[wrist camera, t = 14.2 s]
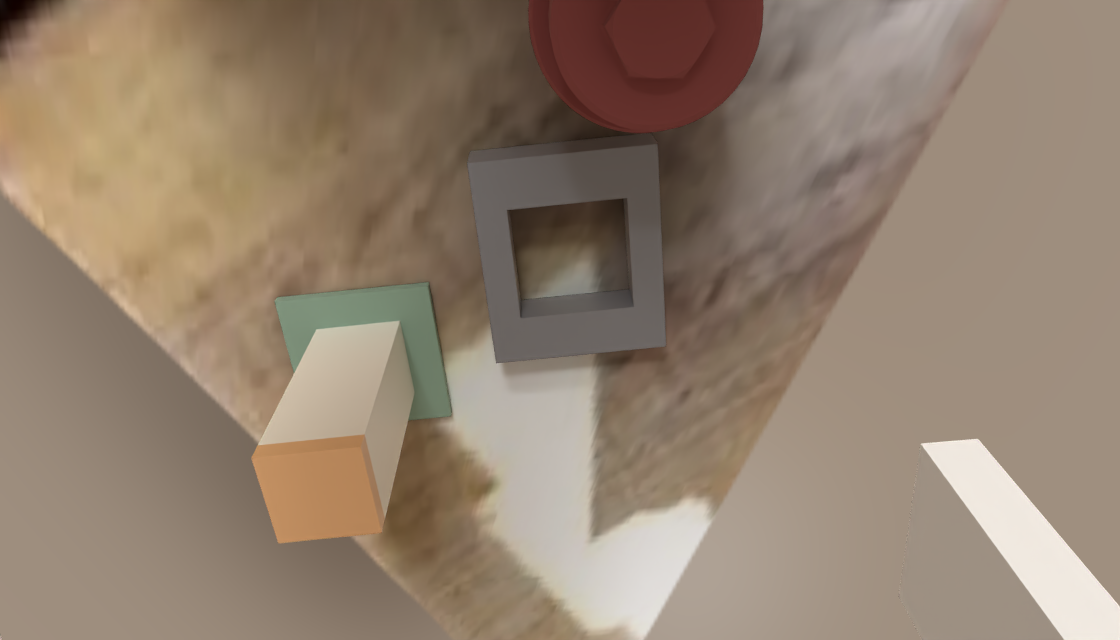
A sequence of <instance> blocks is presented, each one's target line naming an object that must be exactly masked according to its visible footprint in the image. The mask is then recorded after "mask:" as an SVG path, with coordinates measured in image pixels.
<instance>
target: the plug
mask: <svg viewBox="0 0 1120 640" xmlns="http://www.w3.org/2000/svg"><path fill="white" fill-rule="evenodd" d="M414 393H415V392H414V387H413V382H412V377H411V372H410V367H409V363H408V358H407V353H406V348H405V343H404V338H403V333H402V328H401V323H400V321H392V322H383V323H373V324H363V325H354V326H344V327H334V328H325V329H316V331H315V333H314V335H313V337H312V339H311V341H310V343H309V345H308V347H307V349H306V351H305V353H304V355H303V357H302V359H301V361H300V363H299V365H298V367H297V369H296V371H295V373H294V375H293V377H292V379H291V381H290V383H289V385H288V387H287V389H286V391H285V393H284V395H283V397H282V399H281V400H280V402H279V404H278V406H277V408H276V410H275V412H274V414H273V416H272V418H271V420H270V422H269V424H268V426H267V428H266V430H265V432H264V434H263V436H262V438H261V440H260V442H259V444H258V446H257V448H256V450H255V452H254V454H253V456H252V462H253V465H254V468H255V471H256V474H257V477H258V480H259V484H260V486H261V490H262V493H263V496H264V499H265V502H266V506H267V508H268V512H269V515H270V518H271V521H272V524H273V528H274V531H275V534H276V537H277V540H278V543H286V542H296V541H306V540H315V539H325V538H336V537H346V536H356V535H366V534H376V533H382V530H383V526H384V521H385V517H386V513H387V509H388V504H389V500H390V496H391V491H392V487H393V483H394V479H395V474H396V470H397V466H398V462H399V457H400V453H401V449H402V444H403V440H404V436H405V432H406V427H407V423H408V419H409V414H410V410H411V406H412V402H413V397H414Z"/></svg>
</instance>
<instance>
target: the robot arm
mask: <svg viewBox="0 0 1120 640" xmlns="http://www.w3.org/2000/svg"><path fill="white" fill-rule="evenodd" d="M899 598H900V600H901V602H902V604H903V605H904V607H905V609H906V611H907V613H908V615H909V617H910V618H911V620H912V622H913V624H914V626H915V628H916V630H917V631H918V633H919V635H920V637H921V639H922V640H1120V607H1119V605H1118V604H1117V603H1116V602H1115V601H1114V599H1113V598H1112V597H1111V596H1110V595H1109V593H1108V592H1107V591H1106V590H1105V589H1104V588H1103V586H1102V585H1101V584H1100V583H1099V582H1098V581H1097V579H1096V578H1095V577H1094V576H1093V575H1092V573H1091V572H1090V571H1089V570H1088V569H1087V567H1086V566H1085V565H1084V564H1083V563H1082V562H1081V561H1080V559H1079V558H1078V557H1077V556H1076V554H1075V553H1074V552H1073V551H1072V550H1071V548H1070V547H1069V546H1068V545H1067V544H1066V543H1065V541H1064V540H1063V539H1062V538H1061V537H1060V535H1059V534H1058V533H1057V532H1056V531H1055V530H1054V528H1053V527H1052V526H1051V525H1050V524H1049V522H1048V521H1047V520H1046V519H1045V518H1044V517H1043V515H1042V514H1041V513H1040V512H1039V511H1038V510H1037V508H1036V507H1035V506H1034V505H1033V504H1032V502H1031V501H1030V500H1029V499H1028V498H1027V496H1026V495H1025V494H1024V493H1023V492H1022V491H1021V490H1020V488H1019V487H1018V486H1017V485H1016V483H1015V482H1014V481H1013V480H1012V479H1011V477H1010V476H1009V475H1008V474H1007V473H1006V472H1005V470H1004V469H1003V468H1002V467H1001V466H1000V465H999V463H998V462H997V461H996V460H995V459H994V458H993V456H992V455H991V454H990V453H989V451H988V450H987V449H986V448H985V447H984V446H983V445H982V443H981V442H980V441H979V440H978V439H970V440H959V441H947V442H935V443H923V444H921V445H920V452H919V459H918V466H917V473H916V480H915V487H914V493H913V500H912V507H911V514H910V521H909V528H908V535H907V541H906V548H905V555H904V562H903V569H902V576H901V583H900V590H899ZM0 640H3V639H2V637H1V635H0Z"/></svg>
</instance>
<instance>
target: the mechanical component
mask: <svg viewBox="0 0 1120 640" xmlns="http://www.w3.org/2000/svg"><path fill="white" fill-rule="evenodd" d="M528 16H529V29H530V36H531V42H532V46H533V49H534V53H535V56H536V59H537V61H538V64H539V66H540V68H541V71H542V73H543V74H544V76H545V78H546V79H547V81H548V83H549V84H550V86H551V87H552V89H553V90H554V91H555V92H556V93H557V95H558V96H559V97H560V98H561V99H562V100H563V101H564V102H565V103H566V104H567V105H568V106H569V107H570V108H572V109H573V110H574V111H575V112H577V113H578V114H580V115H581V116H583V117H584V118H586V119H587V120H590V121H592V122H594V123H596V124H598V125H600V126H603V127H606V128H609V129H613V130H616V131H623V132H629V133H651V132H658V131H664V130H668V129H673V128H677V127H681V126H684V125H686V124H689V123H691V122H694V121H696V120H698V119H700V118H702V117H703V116H705V115H707V114H709V113H710V112H712V111H713V110H714V109H715V108H717V107H718V106H719V105H720V104H722V103H723V102H724V101H725V100H726V99H727V98H728V97H729V96H730V95H731V94H732V93H733V92H734V91H735V89H736V88H737V86H738V85H739V84H740V82H741V81H742V80H743V78H744V77H745V75H746V73H747V71H748V69H749V67H750V65H751V64H752V62H753V59H754V56H755V53H756V51H757V48H758V45H759V40H760V35H761V30H762V21H763V0H529V8H528Z"/></svg>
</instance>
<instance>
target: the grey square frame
mask: <svg viewBox="0 0 1120 640" xmlns="http://www.w3.org/2000/svg"><path fill="white" fill-rule="evenodd" d="M467 166H468V173H469V180H470V187H471V194H472V201H473V208H474V214H475V221H476V228H477V235H478V242H479V249H480V256H481V262H482V269H483V276H484V283H485V290H486V297H487V304H488V311H489V317H490V324H491V331H492V338H493V345H494V352H495V359H496V363H504V362H514V361H524V360H534V359H544V358H554V357H564V356H574V355H584V354H594V353H604V352H614V351H624V350H634V349H644V348H654V347H664V346H666V331H665V307H664V283H663V258H662V234H661V210H660V186H659V161H658V143H657V142H656V140H655V138H654V137H653V135H652V133H643V134H633V135H623V136H614V137H604V138H594V139H584V140H574V141H564V142H555V143H545V144H535V145H525V146H515V147H505V148H496V149H486V150H476V151H470V153H469V157H468V162H467ZM621 198H623V201H624V217H625V233H626V249H627V266H628V282H629V289H626V290H616V291H606V292H596V293H586V294H576V295H566V296H556V297H546V298H536V299H527V300H521V298H520V290H519V282H518V274H517V266H516V258H515V250H514V242H513V234H512V226H511V218H510V210H512V209H522V208H532V207H542V206H552V205H562V204H572V203H582V202H592V201H602V200H611V199H621Z"/></svg>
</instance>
